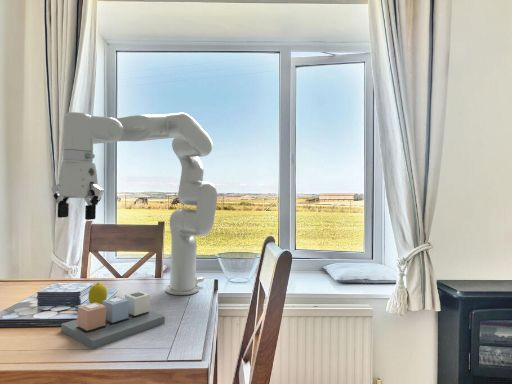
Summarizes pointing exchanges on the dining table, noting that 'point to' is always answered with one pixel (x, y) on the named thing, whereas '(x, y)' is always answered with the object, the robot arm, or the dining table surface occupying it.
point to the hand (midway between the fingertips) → (76, 218)
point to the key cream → (138, 303)
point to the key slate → (116, 309)
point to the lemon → (97, 293)
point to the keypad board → (112, 329)
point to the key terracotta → (91, 316)
